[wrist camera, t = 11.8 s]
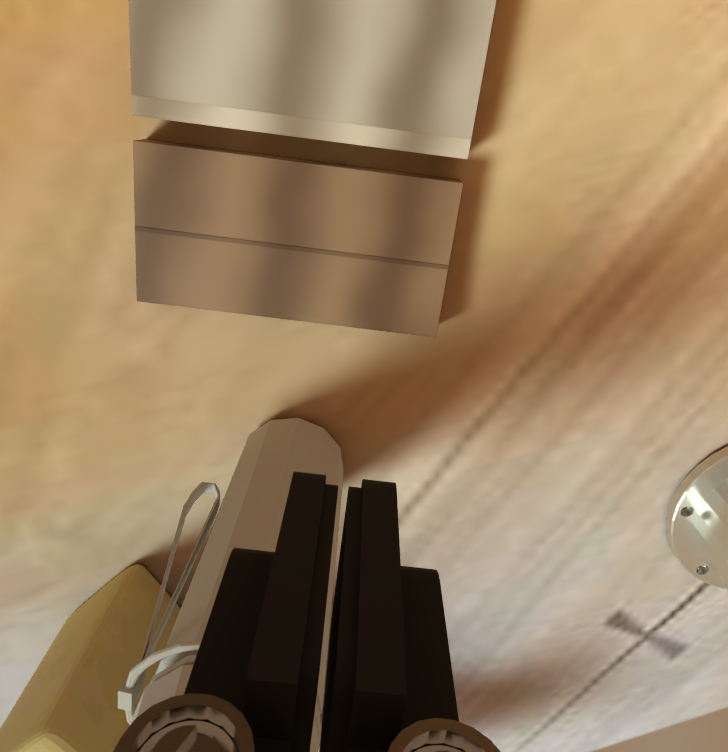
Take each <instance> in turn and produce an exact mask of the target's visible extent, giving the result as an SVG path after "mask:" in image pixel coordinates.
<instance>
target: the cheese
mask: <svg viewBox="0 0 728 752" xmlns="http://www.w3.org/2000/svg"><path fill="white" fill-rule="evenodd" d="M160 588H161V585H160V584H159V583H158V582H157V581H156V579H155V578H154V577H153V576H152V575H151V574H150V573H149V571H148V570H147V569H146V568H145V567H144V566H142V565H139V564H135V565H133V566H130V567H129V568H127V569H125V570H124V571H123V572H121V573H120V574H119V575H117V576H116V577H115V578H114V579H113V580H111V581H110V582H109V583H108V584H107V585H105V586H104V587H103V588H102V589H100V590H99V591H98V592H97V593H96V594H94V595H93V596H92V597H91V598H90V599H88V600H87V601H86V602H85V603H84V604H82V605H81V606H80V607H79V608H78V609H77V610H75V611H74V612H73V613H72V614H71V616H70V617H69V618H68V619H67V620H66V622H65V624H64V625H63V627H62V628H61V630H60V632H59V633H58V635H57V637H56V638H55V640H54V641H53V643H52V645H51V646H50V648H49V650H48V651H47V653H46V655H45V656H44V658H43V659H42V661H41V663H40V664H39V666H38V668H37V669H36V671H35V673H34V674H33V676H32V678H31V679H30V681H29V682H28V684H27V686H26V687H25V689H24V691H23V692H22V694H21V696H20V697H19V699H18V700H17V702H16V704H15V705H14V707H13V709H12V710H11V712H10V714H9V715H8V717H7V718H6V720H5V722H4V723H3V725H2V727H1V728H0V752H113V750H114V749H115V747H116V745H117V743H118V742H119V740H120V738H121V737H122V735H123V734H124V733H125V731H126V730H127V729H128V727H129V726H130V724H129V723H128V722H127V717H126V712H125V710H122V709H118V690H119V689H120V687H121V686H122V684H123V683H124V681H125V680H126V678H127V677H128V676H129V673H130V670H131V669H132V668H134V667H135V665H136V664H137V663H139V662H140V659H141V655H142V652H143V648H144V645H145V641H146V637H147V634H148V630H149V627H150V623H151V620H152V616H153V613H154V609H155V606H156V602H157V599H158V595H159V591H160ZM170 600H171V597H170V596H169V594H168V593H167V592H166V591H164V595H163V598H162V602H161V605H160V609H159V612H158V616H157V619H156V623H155V626H154V630H153V633H152V637H151V641H150V644H151V642H152V640H153V637H154V635H155V633H156V631H157V629H158V626H159V624H160V622H161V620H162V618H163V615H164V613H165V611H166V609H167V607H168V604H169V602H170ZM180 609H181V608H180V607H179V606H178V605H177V603H176V604H175V606H174V608H173V610H172V612H171V615H170V617H169V619H168V621H167V623H166V625H165V628H164V630H163V632H162V634H161V636H160V638H159V641H158V643H157V645H156V647H155V649H154V652H156V651H159V650H161V649H164V648H165V647H166V645H167V642H168V639H169V637H170V634H171V632H172V629H173V627H174V624H175V622H176V619H177V617H178V614H179V611H180ZM150 644H149V646H150ZM148 649H149V648H148ZM154 652H153V653H154ZM159 662H160V660H159V661H157V662H155V663H154V664H152V665H151V666H149V667H148V668H147V669H146V680H145V682H144V685H143V687H142V689H141V691H140V694H139V696H138V698H137V700H136V703H135V705H134V708H135V711H136V708H137V706H138V704H139V701H140V699H141V696H142V694H143V692H144V689H145V687H146V686H147V685H149V684H150V682H151V680H152V677H153V676H154V675H155V673H156V670H157V667H158V665H159Z"/></svg>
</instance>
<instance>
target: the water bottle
mask: <svg viewBox="0 0 728 752" xmlns="http://www.w3.org/2000/svg"><path fill="white" fill-rule="evenodd" d="M294 471H295V472H304V473H313V474H322V475H326V484H331V485H338V495H337V505H336V515H335V525H334V535H333V544H332V554H331V564H330V574H329V584H328V594H327V603H326V613H325V623H324V633H323V643H322V652H321V662H320V672H319V681H318V689H317V698H316V706H315V714H314V721H313V729H312V737H311V745H310V752H318V750H319V747H320V738H321V727H322V725H321V720H320V716H321V714H322V708H323V697H324V686H325V674H326V663H327V652H328V641H329V630H330V618H331V607H332V596H333V585H334V574H335V562H336V551H337V540H338V529H339V517H340V506H341V495H342V484H343V473H344V470H343V463H342V455H341V448H340V446H339V445H338V444H337V443H336V442H335V441H334V439H333V438H332V437H331V436H330V435H329V433H328V432H327V431H326V430H325V429H324V428H323V427H320V426H318V425H315V424H313V423H310V422H308V421H305V420H303V419H300V418H289V419H278V420H270V421H269V422H267V423H266V424H264V425H263V426H261V427H260V428H258V429H257V430H255V431H254V432H252V433H251V434H250V435H249V437H248V439H247V442H246V444H245V447H244V449H243V451H242V454H241V456H240V459H239V461H238V464H237V466H236V469H235V471H234V474H233V477H232V479H231V482H230V484H229V487H228V489H227V492H226V494H225V497H224V499H223V502H222V505H221V507H220V510H219V512H218V515H217V517H216V520H215V522H214V525H213V527H212V530H211V533H210V535H209V538H208V540H207V543H206V545H205V548H204V550H203V553H202V555H201V558H200V561H199V563H198V566H197V568H196V571H195V573H194V576H193V578H192V581H191V583H190V586H189V589H188V591H187V594H186V596H185V599H184V601H183V604H182V606H181V609H180V611H179V614H178V617H177V619H176V622H175V624H174V627H173V629H172V632H171V634H170V637H169V639H168V642H167V645H166V647H165V648H164V649H161V650H159V651H156V652H154V649H155V647H156V645H157V643H158V641H159V638H160V636H161V634H162V632H163V630H164V628H165V625H166V623H167V621H168V619H169V617H170V615H171V612H172V610H173V608H174V606H175V604H176V601H177V599H178V597H179V595H180V593H181V591H182V588H183V586H184V584H185V582H186V580H187V578H188V575H189V573H190V571H191V569H192V567H193V564H194V562H195V560H196V558H197V556H198V554H199V551H200V549H201V547H202V545H203V543H204V540H205V538H206V536H207V534H208V532H209V530H210V527H211V525H212V523H213V521H214V518H215V516H216V514H217V511H218V507H219V505H220V492H219V489H218V487H217V486H216V484H215V483H206V482H201V483H200V484H199V485H198V486H197V488H196V489H195V490H194V491H193V492H192V493H191V495H190V497H189V498H188V500H187V501H186V503H185V505H184V506H183V510H182V513H181V517H180V521H179V524H178V528H177V531H176V535H175V538H174V542H173V545H172V549H171V552H170V556H169V560H168V563H167V567H166V570H165V574H164V577H163V581H162V584H161V588H160V591H159V595H158V599H157V602H156V606H155V609H154V613H153V616H152V620H151V623H150V627H149V630H148V634H147V637H146V641H145V645H144V648H143V652H142V655H141V659H140V662H139V663H137V664H136V665H135V667H134V668H132V669H131V670H130V673H129V676H128V677H127V678H126V680H125V681H124V683H123V684H122V686H121V687H120V689H119V690H118V709H122V710H125V712H126V717H127V722H128V723H129V724H130V725H131V724H132V722H133V721H134V720H135V719H136V718H137V717H138V716H139V715H141V714H142V713H143V712H145V711H146V710H147V709H149V708H150V707H151V706H152V705H154V704H157V703H159V702H161V701H163V700H166V699H168V698H170V697H173V696H179V695H184V692H185V689H186V686H187V683H188V680H189V677H190V674H191V671H192V668H193V665H194V662H195V659H196V656H197V653H198V650H199V647H200V644H201V641H202V638H203V635H204V632H205V629H206V626H207V623H208V620H209V617H210V614H211V611H212V608H213V605H214V602H215V598H216V595H217V592H218V589H219V586H220V583H221V580H222V577H223V574H224V571H225V568H226V565H227V562H228V559H229V556H230V554H231V551H232V550H233V548H242V549H251V550H260V551H270V552H275V549H276V545H277V541H278V536H279V532H280V528H281V523H282V519H283V515H284V510H285V506H286V502H287V497H288V493H289V489H290V484H291V480H292V476H293V472H294ZM203 493H214V496H215V500H216V501H215V503H214V505H213V507H212V509H211V512H210V514H209V516H208V518H207V520H206V523H205V525H204V527H203V529H202V531H201V534H200V536H199V538H198V540H197V542H196V545H195V547H194V549H193V551H192V554H191V556H190V558H189V560H188V562H187V565H186V567H185V569H184V571H183V573H182V576H181V578H180V580H179V582H178V584H177V587H176V589H175V591H174V593H173V596H172V598H171V600H170V602H169V604H168V607H167V609H166V611H165V613H164V615H163V618H162V620H161V622H160V624H159V626H158V629H157V631H156V633H155V635H154V637H153V640H152V642H151V644H150V641H151V637H152V633H153V630H154V626H155V623H156V619H157V616H158V612H159V609H160V605H161V602H162V598H163V595H164V591H165V588H166V584H167V581H168V577H169V574H170V570H171V567H172V563H173V560H174V556H175V553H176V549H177V545H178V542H179V538H180V535H181V531H182V528H183V524H184V521H185V517H186V515H187V513H188V512H189V510H190V509H191V507H192V505H193V504H194V502H195V501H196V500H197V499H198V498H199V497H200V496H201V495H202V494H203ZM149 644H150V646H149ZM148 648H149V649H148ZM153 652H154V653H153ZM159 660H160V662H159V665H158V667H157V670H156V673H155V675H154V676H153V677H152V680H151V682H150V684H149V685H147V686H146V687H145V689H144V692H143V694H142V696H141V699H140V701H139V704H138V706H137V708H136V711H135V708H134V705H135V703H136V700H137V698H138V696H139V694H140V691H141V689H142V687H143V685H144V682H145V680H146V669H147V668H148V667H149V666H151V665H152V664H154V663H155V662H157V661H159Z"/></svg>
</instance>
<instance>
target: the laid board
mask: <svg viewBox="0 0 728 752" xmlns="http://www.w3.org/2000/svg"><path fill="white" fill-rule="evenodd" d="M133 160H134V201H135V242H136V282H137V301H140V302H149V303H157V304H165V305H173V306H182V307H190V308H198V309H206V310H214V311H223V312H231V313H239V314H247V315H256V316H264V317H272V318H280V319H289V320H297V321H305V322H313V323H321V324H330V325H338V326H346V327H354V328H363V329H371V330H379V331H387V332H396V333H404V334H412V335H420V336H428V337H436V334H437V329H438V323H439V317H440V312H441V306H442V300H443V295H444V289H445V284H446V278H447V272H448V267H449V261H450V255H451V250H452V244H453V239H454V233H455V227H456V222H457V216H458V210H459V205H460V199H461V194H462V188H463V183H462V182H461V181H460V180H457V179H449V178H442V177H434V176H426V175H419V174H411V173H403V172H395V171H388V170H380V169H372V168H365V167H357V166H349V165H341V164H334V163H326V162H318V161H311V160H303V159H295V158H287V157H280V156H272V155H264V154H257V153H249V152H241V151H233V150H226V149H218V148H210V147H203V146H195V145H187V144H179V143H172V142H164V141H156V140H149V139H143V140H134V141H133Z"/></svg>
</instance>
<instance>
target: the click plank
mask: <svg viewBox="0 0 728 752" xmlns="http://www.w3.org/2000/svg"><path fill="white" fill-rule="evenodd" d="M495 5H496V0H129V24H130V56H131V87H132V116H140V117H148V118H155V119H163V120H171V121H178V122H186V123H194V124H201V125H209V126H217V127H224V128H232V129H239V130H247V131H255V132H262V133H270V134H278V135H285V136H293V137H301V138H308V139H316V140H324V141H331V142H339V143H347V144H354V145H362V146H370V147H377V148H385V149H393V150H400V151H408V152H415V153H423V154H431V155H438V156H446V157H454V158H461V159H468V154H469V149H470V143H471V138H472V132H473V127H474V121H475V116H476V110H477V105H478V99H479V93H480V88H481V82H482V77H483V71H484V66H485V60H486V55H487V49H488V44H489V38H490V33H491V27H492V22H493V16H494V11H495Z"/></svg>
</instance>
